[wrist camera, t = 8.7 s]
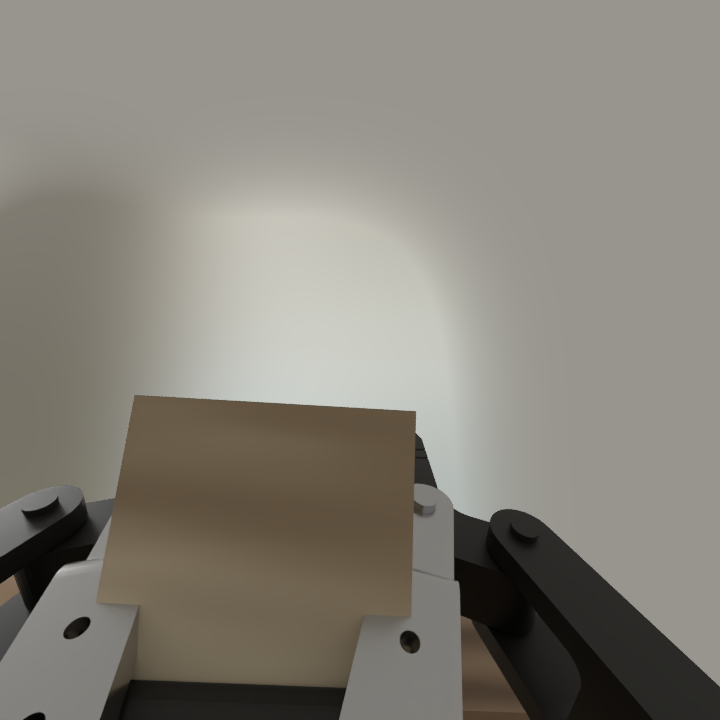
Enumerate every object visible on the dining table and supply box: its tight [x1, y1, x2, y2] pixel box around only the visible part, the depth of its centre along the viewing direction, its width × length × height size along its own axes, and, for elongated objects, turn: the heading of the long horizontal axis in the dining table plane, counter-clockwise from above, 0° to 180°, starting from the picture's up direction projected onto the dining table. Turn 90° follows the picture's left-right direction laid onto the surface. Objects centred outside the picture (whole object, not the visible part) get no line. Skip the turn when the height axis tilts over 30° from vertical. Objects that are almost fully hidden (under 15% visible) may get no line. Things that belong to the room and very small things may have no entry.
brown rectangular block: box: [96, 395, 416, 688], centre depth 17 cm, size 26×4×4 cm, turn 2°
